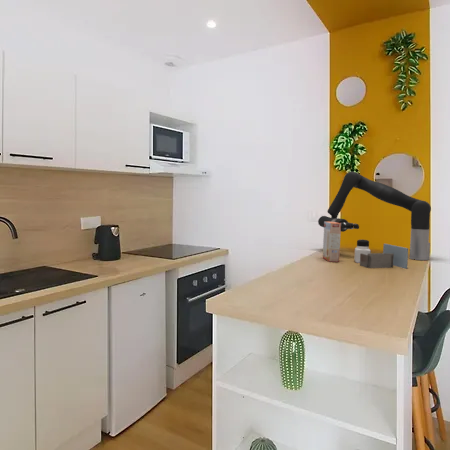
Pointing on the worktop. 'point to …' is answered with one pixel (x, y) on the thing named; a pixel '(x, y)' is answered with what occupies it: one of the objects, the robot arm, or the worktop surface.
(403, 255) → the door board
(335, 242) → the cracker box
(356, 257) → the medicine bottle
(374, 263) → the keeper
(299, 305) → the worktop surface
